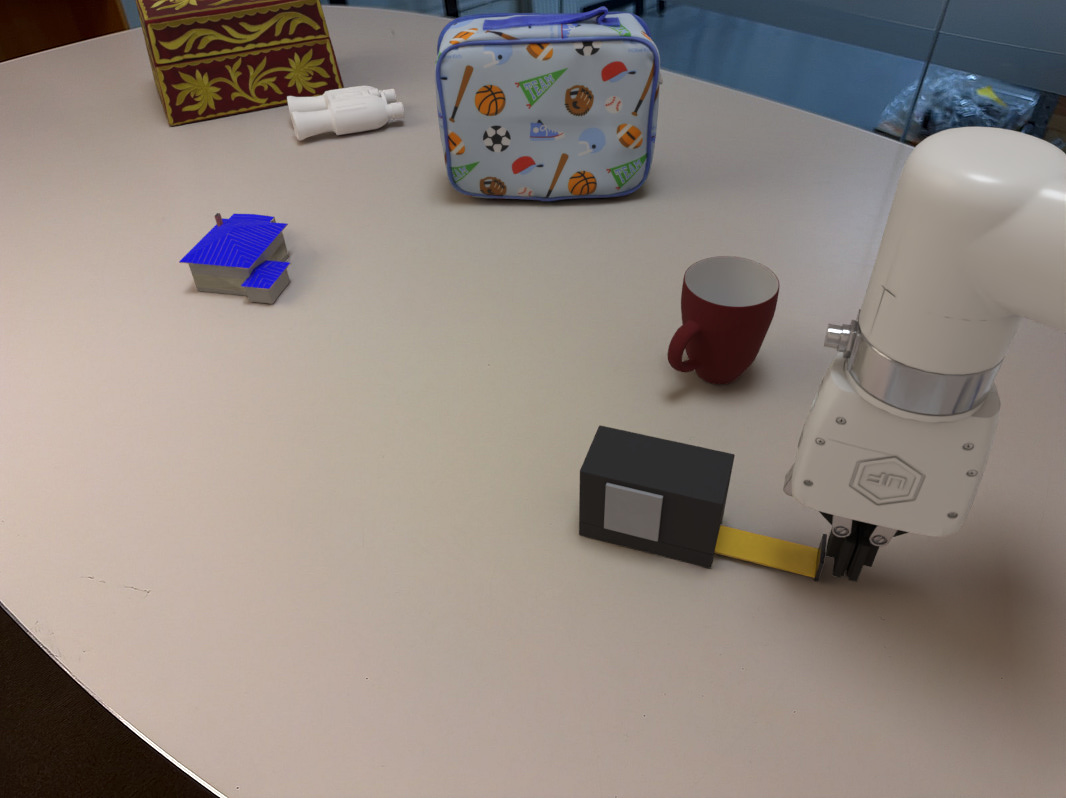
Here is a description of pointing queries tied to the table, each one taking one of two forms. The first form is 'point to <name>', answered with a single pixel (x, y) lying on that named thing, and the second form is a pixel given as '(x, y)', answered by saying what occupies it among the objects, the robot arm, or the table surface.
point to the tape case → (654, 495)
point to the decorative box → (236, 54)
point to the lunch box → (547, 104)
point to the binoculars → (343, 111)
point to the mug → (723, 317)
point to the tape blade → (772, 551)
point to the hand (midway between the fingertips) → (845, 562)
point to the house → (241, 258)
